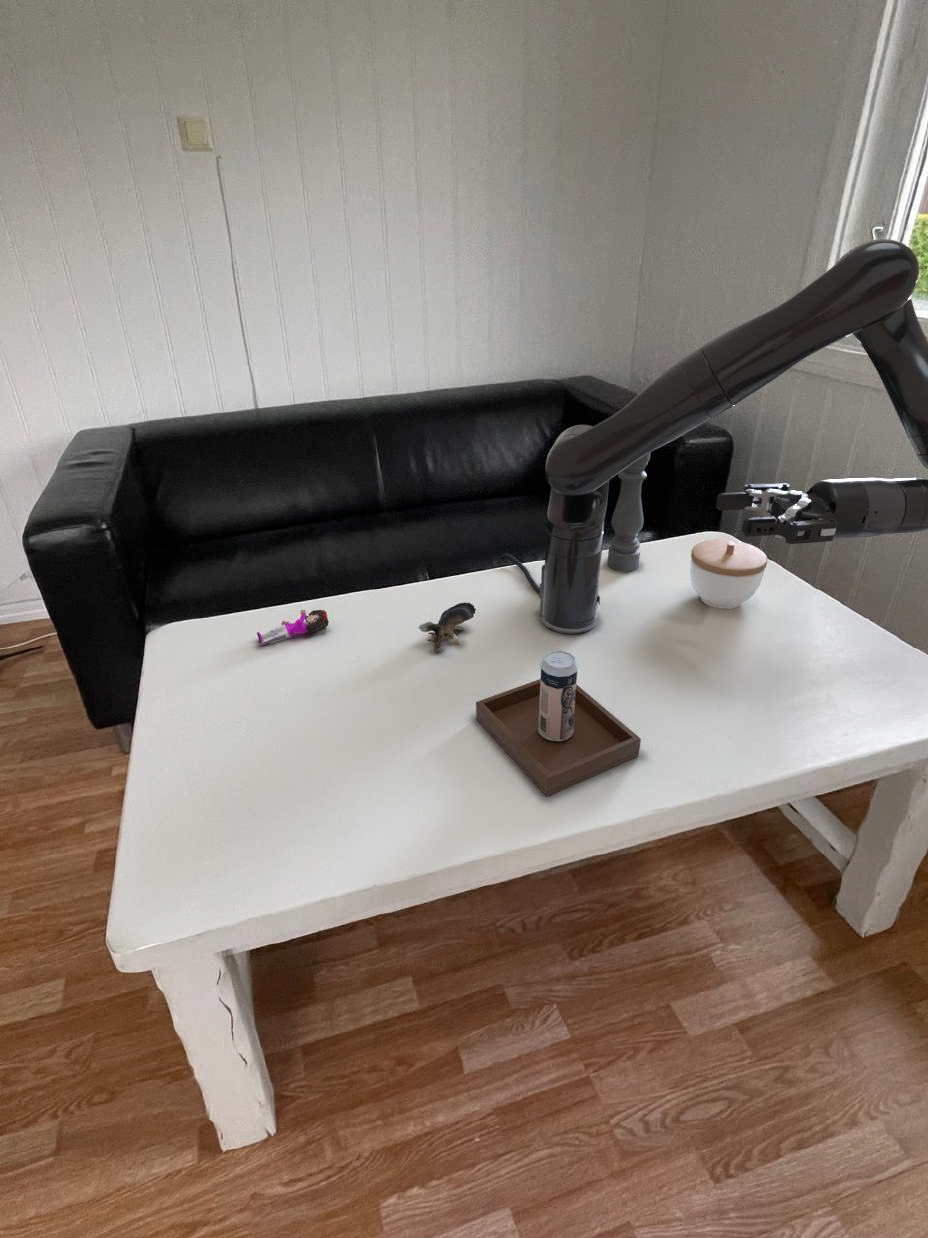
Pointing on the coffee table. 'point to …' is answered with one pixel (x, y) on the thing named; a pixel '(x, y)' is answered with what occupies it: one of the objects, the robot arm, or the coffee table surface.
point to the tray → (557, 762)
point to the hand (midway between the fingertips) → (730, 514)
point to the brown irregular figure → (449, 624)
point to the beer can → (557, 695)
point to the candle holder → (628, 518)
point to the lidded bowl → (726, 572)
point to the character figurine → (297, 627)
